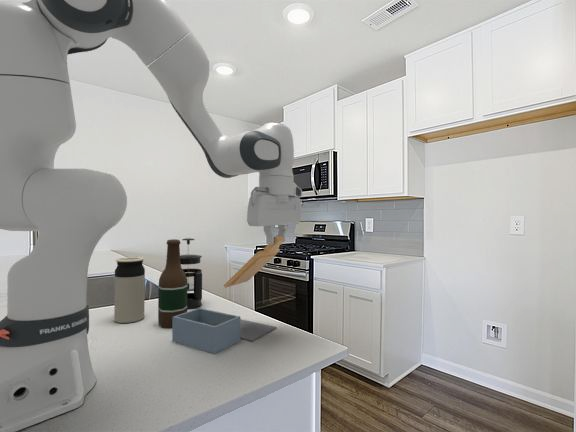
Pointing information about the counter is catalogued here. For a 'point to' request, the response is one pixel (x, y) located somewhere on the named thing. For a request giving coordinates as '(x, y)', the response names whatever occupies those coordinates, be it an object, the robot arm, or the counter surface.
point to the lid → (256, 263)
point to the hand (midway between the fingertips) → (275, 243)
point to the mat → (253, 330)
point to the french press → (195, 297)
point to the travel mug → (129, 290)
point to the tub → (206, 330)
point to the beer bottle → (172, 287)
